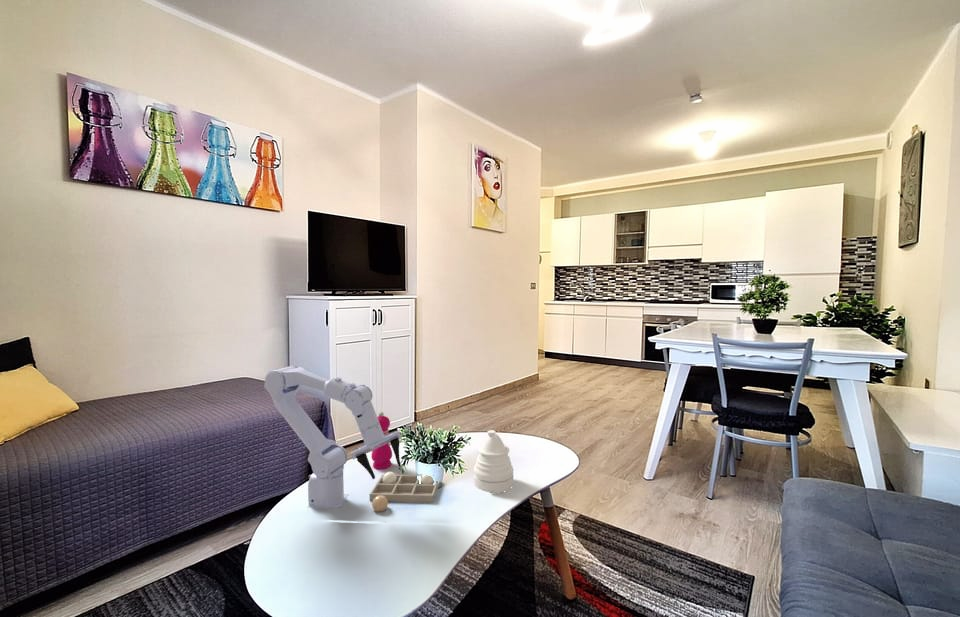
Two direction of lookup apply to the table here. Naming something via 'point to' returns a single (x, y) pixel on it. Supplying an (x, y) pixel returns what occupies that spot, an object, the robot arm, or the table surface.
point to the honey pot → (493, 466)
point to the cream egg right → (427, 480)
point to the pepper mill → (382, 447)
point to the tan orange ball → (380, 503)
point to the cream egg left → (389, 478)
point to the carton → (405, 490)
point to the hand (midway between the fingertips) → (386, 471)
